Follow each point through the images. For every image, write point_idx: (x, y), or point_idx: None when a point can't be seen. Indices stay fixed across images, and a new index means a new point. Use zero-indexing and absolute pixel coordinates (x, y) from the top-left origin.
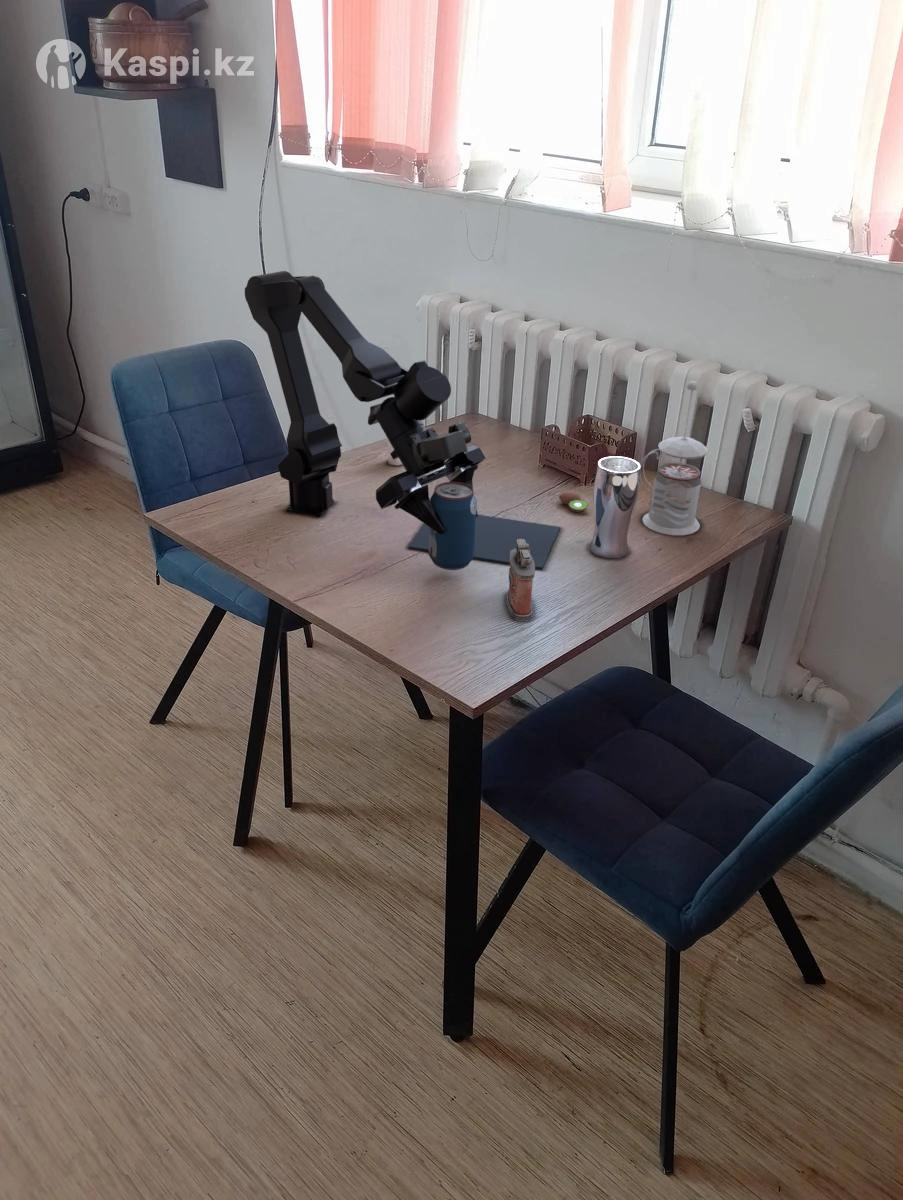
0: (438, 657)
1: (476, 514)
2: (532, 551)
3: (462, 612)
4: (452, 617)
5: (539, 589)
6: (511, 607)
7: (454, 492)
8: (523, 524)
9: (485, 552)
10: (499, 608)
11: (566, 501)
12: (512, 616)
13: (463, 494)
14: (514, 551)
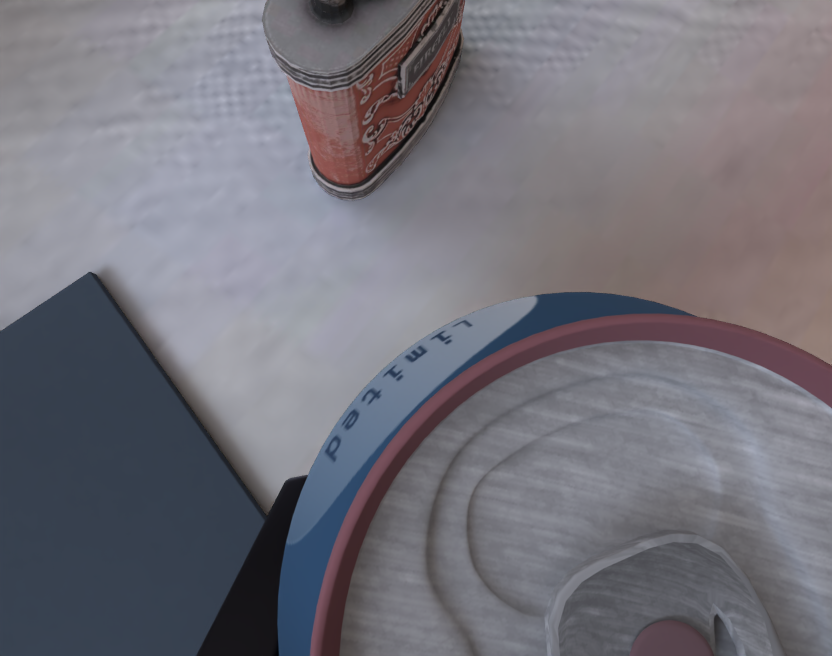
0: (822, 27)
1: (296, 486)
2: (7, 416)
3: (597, 197)
4: (649, 191)
5: (229, 159)
6: (445, 78)
7: (703, 594)
8: None
9: (202, 541)
10: (459, 141)
11: None
12: (455, 72)
13: (542, 507)
14: (337, 47)
